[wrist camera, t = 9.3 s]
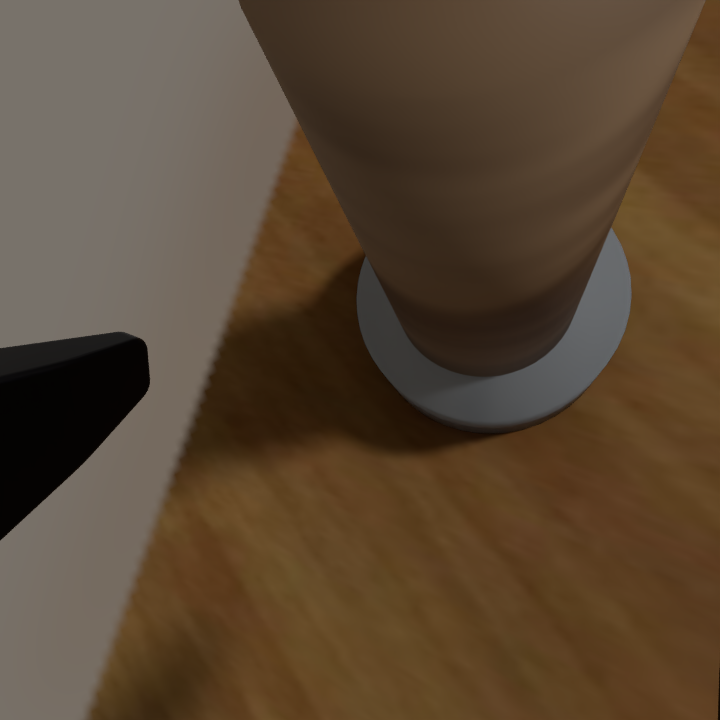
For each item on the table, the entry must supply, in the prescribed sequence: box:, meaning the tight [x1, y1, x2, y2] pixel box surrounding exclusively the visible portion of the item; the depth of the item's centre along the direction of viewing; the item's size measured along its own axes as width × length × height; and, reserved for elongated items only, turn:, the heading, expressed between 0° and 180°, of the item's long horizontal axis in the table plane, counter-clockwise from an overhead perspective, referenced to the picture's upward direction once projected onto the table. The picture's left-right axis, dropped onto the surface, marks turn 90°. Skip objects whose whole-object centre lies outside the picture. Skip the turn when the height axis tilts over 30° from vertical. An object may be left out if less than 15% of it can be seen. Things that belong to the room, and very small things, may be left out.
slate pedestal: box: [357, 228, 631, 434], centre depth 19 cm, size 9×9×3 cm
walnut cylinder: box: [239, 0, 706, 377], centre depth 12 cm, size 6×6×12 cm
